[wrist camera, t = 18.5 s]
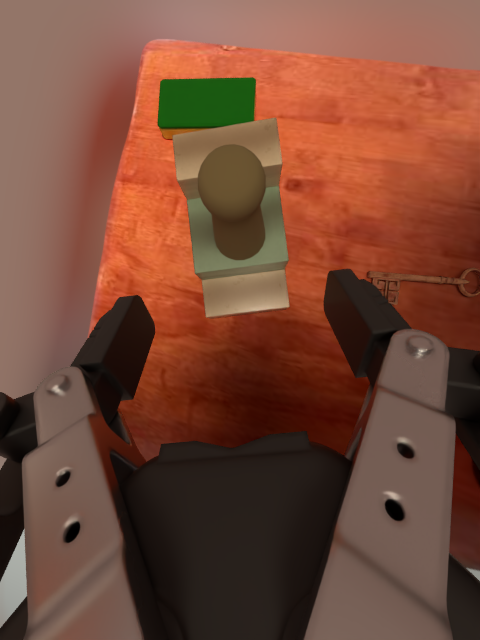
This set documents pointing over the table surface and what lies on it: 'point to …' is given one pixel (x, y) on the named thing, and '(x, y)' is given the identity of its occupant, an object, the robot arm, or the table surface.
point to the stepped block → (209, 263)
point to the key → (420, 278)
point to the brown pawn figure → (234, 199)
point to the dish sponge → (204, 104)
